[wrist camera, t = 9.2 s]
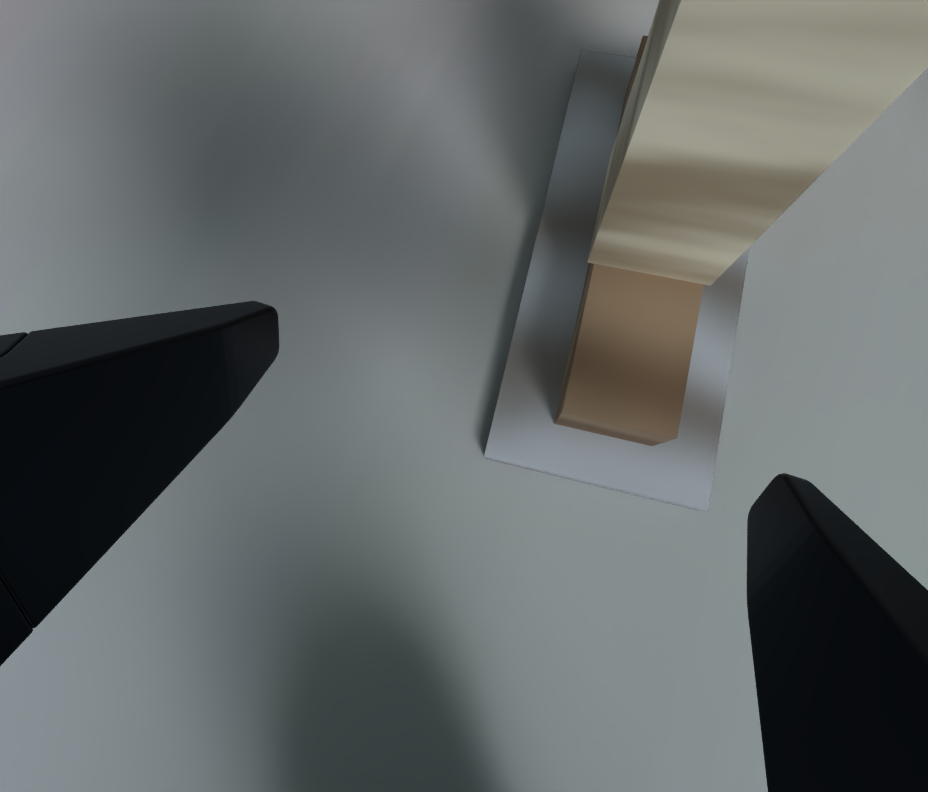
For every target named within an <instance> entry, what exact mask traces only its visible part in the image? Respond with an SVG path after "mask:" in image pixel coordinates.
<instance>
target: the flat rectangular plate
mask: <svg viewBox="0 0 928 792" xmlns="http://www.w3.org/2000/svg"><path fill="white" fill-rule="evenodd" d="M647 39H648V36H643V38H642V41H641V44H640V48H639V51H638V54H637V58H635V57H628V56H620V55H613V54H606V53H598V52H591V51H584V50H581V52H580V56H579V61H578V65H577V69H576V73H575V77H574V81H573V86H572V90H571V94H570V98H569V102H568V107H567V111H566V115H565V119H564V123H563V128H562V132H561V136H560V140H559V144H558V149H557V153H556V157H555V161H554V165H553V169H552V174H551V178H550V182H549V186H548V190H547V195H546V199H545V203H544V207H543V211H542V216H541V220H540V224H539V228H538V232H537V237H536V241H535V245H534V249H533V253H532V257H531V262H530V266H529V270H528V274H527V278H526V283H525V287H524V291H523V295H522V299H521V304H520V308H519V312H518V316H517V320H516V325H515V329H514V333H513V337H512V341H511V345H510V350H509V354H508V358H507V362H506V366H505V371H504V375H503V379H502V383H501V387H500V392H499V396H498V400H497V404H496V408H495V413H494V417H493V421H492V425H491V429H490V433H489V438H488V442H487V446H486V450H485V454H484V458H486V459H490V460H494V461H498V462H502V463H506V464H510V465H514V466H518V467H523V468H527V469H531V470H535V471H539V472H543V473H547V474H551V475H555V476H560V477H564V478H568V479H572V480H576V481H580V482H584V483H588V484H592V485H597V486H601V487H605V488H609V489H613V490H617V491H621V492H625V493H629V494H634V495H638V496H642V497H646V498H650V499H654V500H658V501H662V502H666V503H671V504H675V505H679V506H683V507H687V508H691V509H695V510H702V511H708V506H709V500H710V493H711V487H712V481H713V474H714V468H715V462H716V455H717V449H718V443H719V437H720V430H721V424H722V418H723V411H724V405H725V399H726V392H727V386H728V380H729V374H730V367H731V361H732V355H733V348H734V342H735V336H736V329H737V323H738V317H739V311H740V304H741V298H742V292H743V285H744V279H745V273H746V267H747V260H748V254H749V248H750V247H749V248H748V249H747V250H746V251H745V252H744V253H743V254H742V255H741V256H740V257H739V258H738V259H737V260H736V261H735V262H734V263H733V264H732V265H731V266H730V267H729V268H728V269H727V270H726V271H725V272H724V273H723V274H722V275H721V276H720V277H719V278H718V279H717V280H716V281H715V282H714V283H713V284H712V285H711V286H709V285H704V284H699V283H693V282H688V281H683V280H677V279H672V278H667V277H662V276H656V275H651V274H646V273H641V272H635V271H630V270H625V269H619V268H614V267H609V266H604V265H598V264H593V263H588V262H587V261H588V256H589V252H590V247H591V243H592V238H593V233H594V229H595V224H596V220H597V215H598V211H599V206H600V201H601V197H602V192H603V188H604V183H605V179H606V174H607V169H608V165H609V160H610V156H611V153H612V150H613V147H614V143H615V140H616V137H617V134H618V131H619V128H620V124H621V121H622V118H623V115H624V112H625V108H626V105H627V102H628V99H629V96H630V93H631V89H632V86H633V83H634V80H635V77H636V73H637V70H638V67H639V64H640V61H641V58H642V54H643V51H644V48H645V45H646V42H647Z"/></svg>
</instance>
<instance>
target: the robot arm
mask: <svg viewBox="0 0 928 792" xmlns="http://www.w3.org/2000/svg"><path fill="white" fill-rule="evenodd" d="M278 351H279V326H278V313H277V311H276V309H275V308H274V307H272V306H269V305H266V304H263V303H260V302H257V301H249V302H242V303H234V304H227V305H220V306H212V307H205V308H198V309H191V310H183V311H176V312H169V313H162V314H154V315H147V316H140V317H132V318H125V319H118V320H111V321H103V322H96V323H89V324H81V325H74V326H67V327H60V328H52V329H45V330H38V331H32V332H30V333H29V334H27V333H25V332H22V333H15V334H8V335H1V336H0V666H1V665H2V664H3V663H4V662H5V661H6V659H7V658H8V657H9V656H10V655H11V654H12V653H13V652H14V651H15V650H16V649H17V648H18V647H19V646H20V644H21V643H22V642H23V641H24V640H25V639H26V638H27V637H28V636H29V635H30V634H31V633H32V631H33V629H32V628H35V627H37V626H38V625H39V624H40V623H41V621H42V620H43V619H44V618H45V617H46V616H47V615H48V614H49V613H50V612H51V611H52V610H53V609H54V608H55V606H56V605H57V604H58V603H59V602H60V601H61V600H62V599H63V598H64V597H65V596H66V595H67V594H68V593H69V591H70V590H71V589H72V588H73V587H74V586H75V585H76V584H77V583H78V582H79V581H80V580H81V579H82V578H83V576H84V575H85V574H86V573H87V572H88V571H89V570H90V569H91V568H92V567H93V566H94V565H95V564H96V563H97V561H98V560H99V559H100V558H101V557H102V556H103V555H104V554H105V553H106V552H107V551H108V550H109V549H110V548H111V546H112V545H113V544H114V543H115V542H116V541H117V540H118V539H119V538H120V537H121V536H122V535H123V534H124V533H125V531H126V530H127V529H128V528H129V527H130V526H131V525H132V524H133V523H134V522H135V521H136V520H137V519H138V518H139V516H140V515H141V514H142V513H143V512H144V511H145V510H146V509H147V508H148V507H149V506H150V505H151V504H152V503H153V501H154V500H155V499H156V498H157V497H158V496H159V495H160V494H161V493H162V492H163V491H164V490H165V489H166V487H167V486H168V485H169V484H170V483H171V482H172V481H173V480H174V479H175V478H176V477H177V476H178V475H179V474H180V472H181V471H182V470H183V469H184V468H185V467H186V466H187V465H188V464H189V463H190V462H191V461H192V460H193V459H194V457H195V456H196V455H197V454H198V453H199V452H200V451H201V450H202V449H203V448H204V447H205V446H206V445H207V444H208V442H209V441H210V440H211V439H212V438H213V437H214V436H215V435H216V434H217V433H218V432H219V431H220V430H221V429H222V427H223V426H224V425H225V424H226V423H227V422H228V421H229V420H230V418H231V417H232V416H233V415H234V414H235V412H236V411H237V410H238V409H239V407H240V406H241V405H242V403H243V402H244V401H245V399H246V398H247V397H248V395H249V394H250V392H251V391H252V390H253V388H254V387H255V386H256V384H257V383H258V382H259V380H260V379H261V378H262V376H263V375H264V374H265V372H266V371H267V370H268V368H269V367H270V365H271V364H272V363H273V361H274V360H275V358H276V357H277V354H278ZM747 607H748V618H749V627H750V636H751V645H752V654H753V662H754V671H755V680H756V689H757V698H758V707H759V716H760V725H761V733H762V742H763V751H764V760H765V769H766V778H767V787H768V792H928V590H927V589H926V588H925V587H924V586H922V585H921V584H920V583H919V582H918V581H917V580H916V579H915V578H914V577H913V576H912V575H911V574H909V573H908V572H907V571H906V570H905V569H904V568H903V567H902V566H901V565H900V564H899V563H898V562H896V561H895V560H894V559H893V558H892V557H891V556H890V555H889V554H888V553H887V552H886V551H885V550H883V549H882V548H881V547H880V546H879V545H878V544H877V543H876V542H875V541H874V540H873V539H872V538H870V537H869V536H868V535H867V534H866V533H865V532H864V531H863V530H862V529H861V528H860V527H859V526H857V525H856V524H855V523H854V522H853V521H852V520H851V519H850V518H849V517H848V516H847V515H846V514H844V513H843V512H842V511H841V510H840V509H839V508H838V507H837V506H836V505H835V504H834V503H833V502H831V501H830V500H829V499H828V498H827V497H826V496H825V495H824V494H823V493H822V492H821V491H820V490H818V489H817V488H816V487H815V486H814V485H813V484H812V483H811V482H809V481H807V480H805V479H801V478H798V477H795V476H792V475H789V474H785V473H783V474H779V475H777V476H776V477H775V478H774V479H773V480H772V481H771V482H770V484H769V485H768V486H767V487H766V489H765V490H764V491H763V493H762V494H761V495H760V496H759V498H758V499H757V500H756V501H755V503H754V504H753V505H752V507H751V509H750V511H749V514H748V526H747Z"/></svg>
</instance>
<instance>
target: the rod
mask: <svg viewBox="0 0 928 792" xmlns="http://www.w3.org/2000/svg"><path fill="white" fill-rule="evenodd" d="M927 68H928V0H659V4H658V7H657V10H656V13H655V16H654V19H653V23H652V26H651V29H650V32H649V35H648V39H647V42H646V45H645V48H644V51H643V54H642V58H641V61H640V64H639V67H638V70H637V73H636V77H635V80H634V83H633V86H632V89H631V93H630V96H629V99H628V102H627V105H626V108H625V112H624V115H623V118H622V121H621V124H620V128H619V131H618V134H617V137H616V140H615V143H614V147H613V150H612V153H611V156H610V160H609V165H608V169H607V174H606V179H605V183H604V188H603V192H602V197H601V201H600V206H599V211H598V215H597V220H596V224H595V229H594V233H593V238H592V243H591V247H590V252H589V256H588V261H587V262H588V263H593V264H598V265H604V266H609V267H614V268H619V269H625V270H630V271H635V272H641V273H646V274H651V275H656V276H662V277H667V278H672V279H677V280H683V281H688V282H693V283H699V284H704V285H709V286H711V285H712V284H713V283H714V282H715V281H716V280H717V279H718V278H719V277H720V276H721V275H722V274H723V273H724V272H725V271H726V270H727V269H728V268H729V267H730V266H731V265H732V264H733V263H734V262H735V261H736V260H737V259H738V258H739V257H740V256H741V255H742V254H743V253H744V252H745V251H746V250H747V249H748V248H749V247H750V246H751V245H752V244H753V243H754V242H755V241H756V240H757V239H758V238H759V237H760V236H761V235H762V234H763V233H764V232H765V231H766V230H767V229H768V228H769V227H770V226H771V225H772V224H773V223H774V222H775V221H776V220H777V219H778V217H779V216H780V215H781V214H782V213H783V212H784V211H785V210H786V209H787V208H788V207H789V206H790V205H791V204H792V203H793V202H794V201H795V200H796V199H797V198H798V197H799V196H800V195H801V194H802V193H803V192H804V191H805V190H806V189H807V188H808V187H809V186H810V185H811V184H812V183H813V182H814V181H815V180H816V179H817V178H818V177H819V176H820V175H821V174H822V173H823V172H824V171H825V170H826V169H827V168H828V167H829V166H830V165H831V164H832V163H833V162H834V161H835V160H836V159H837V158H838V157H839V156H840V155H841V154H842V153H843V152H844V151H845V150H846V149H847V148H848V147H849V146H850V145H851V144H852V143H853V142H854V141H855V140H856V139H857V138H858V137H859V136H860V135H861V134H862V133H863V132H864V131H865V130H866V129H867V128H868V127H869V126H870V125H871V124H872V123H873V122H874V121H875V120H876V119H877V118H878V117H879V116H880V115H881V114H882V113H883V112H884V111H885V110H886V109H887V108H888V107H889V106H890V105H891V104H892V103H893V102H894V101H895V100H896V99H897V98H898V97H899V96H900V95H901V94H902V93H903V92H904V91H905V90H906V89H907V88H908V87H909V86H910V85H911V84H912V83H913V82H914V81H915V80H916V79H917V78H918V77H919V76H920V75H921V74H922V73H923V72H924V71H925V70H926V69H927Z"/></svg>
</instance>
